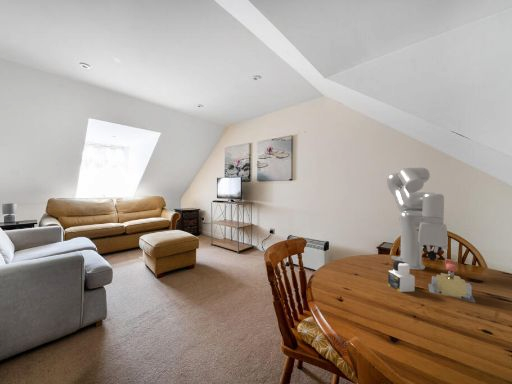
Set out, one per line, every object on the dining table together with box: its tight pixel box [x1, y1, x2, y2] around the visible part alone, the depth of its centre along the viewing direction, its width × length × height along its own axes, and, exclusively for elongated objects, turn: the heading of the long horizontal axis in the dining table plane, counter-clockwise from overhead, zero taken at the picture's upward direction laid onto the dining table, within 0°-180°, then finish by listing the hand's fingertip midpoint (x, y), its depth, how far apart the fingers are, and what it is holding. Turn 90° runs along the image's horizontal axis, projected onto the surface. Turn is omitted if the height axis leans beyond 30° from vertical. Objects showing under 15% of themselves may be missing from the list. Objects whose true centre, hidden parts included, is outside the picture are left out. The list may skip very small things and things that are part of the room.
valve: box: [431, 270, 473, 300], centre depth 89 cm, size 12×6×10 cm, turn 53°
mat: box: [428, 283, 476, 303], centre depth 90 cm, size 14×9×1 cm, turn 53°
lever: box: [444, 258, 457, 273], centre depth 91 cm, size 3×10×2 cm, turn 143°
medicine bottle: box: [387, 260, 416, 293], centre depth 94 cm, size 7×7×12 cm
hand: (431, 259), depth 97 cm, fingers closed
